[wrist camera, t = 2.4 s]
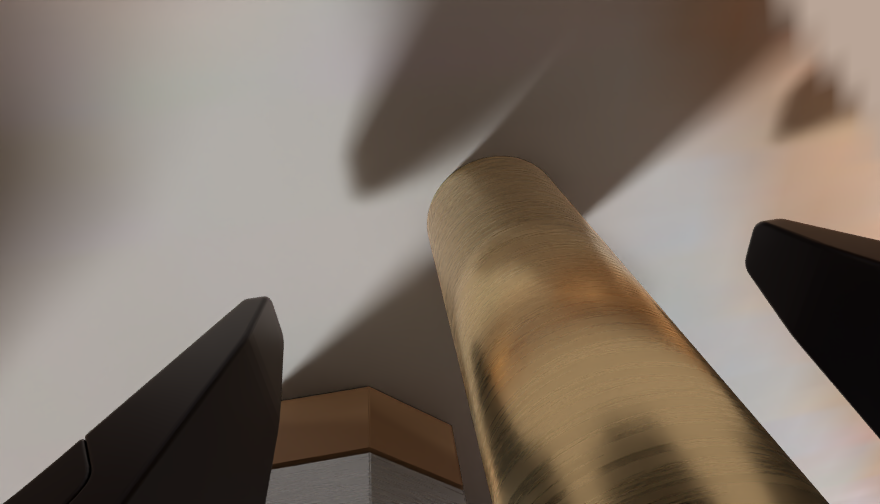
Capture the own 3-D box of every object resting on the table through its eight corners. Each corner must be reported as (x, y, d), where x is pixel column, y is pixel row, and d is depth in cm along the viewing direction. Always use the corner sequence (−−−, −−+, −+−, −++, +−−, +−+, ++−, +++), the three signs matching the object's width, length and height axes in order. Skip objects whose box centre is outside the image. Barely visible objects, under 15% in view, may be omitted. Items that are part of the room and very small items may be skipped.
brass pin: (399, 234, 11) (461, 691, 4) (490, 127, 10) (768, 488, 3) (497, 297, 12) (670, 730, 5) (585, 207, 11) (935, 591, 4)
